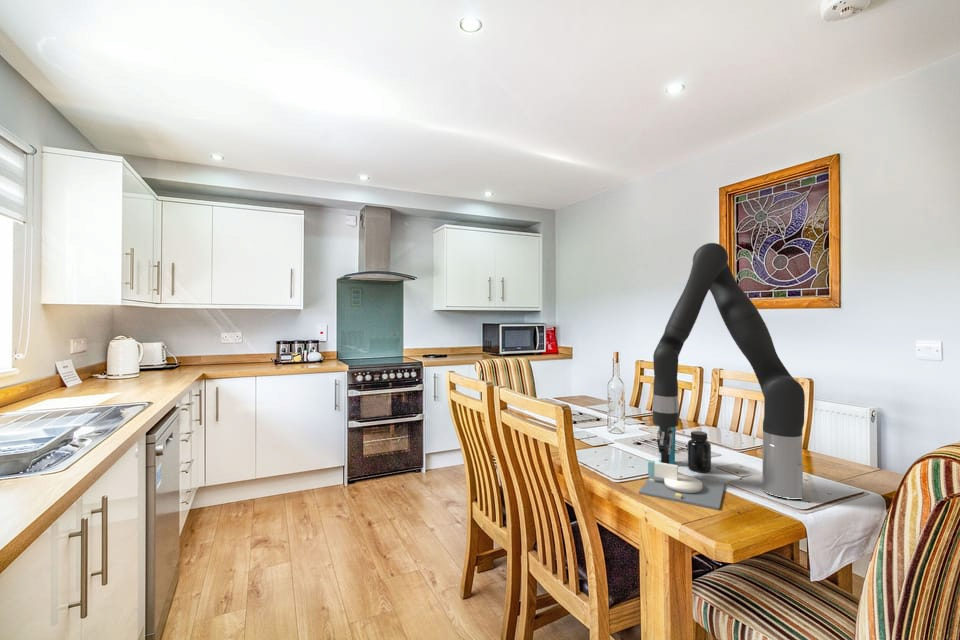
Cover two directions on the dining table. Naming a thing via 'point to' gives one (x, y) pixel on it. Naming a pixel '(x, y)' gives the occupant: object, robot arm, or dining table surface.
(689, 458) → the supplement bottle
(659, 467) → the dial
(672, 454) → the tube
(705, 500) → the dial board
